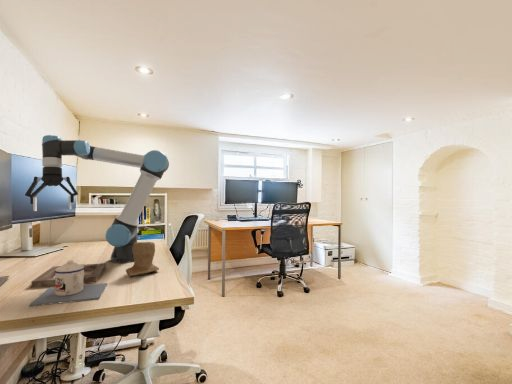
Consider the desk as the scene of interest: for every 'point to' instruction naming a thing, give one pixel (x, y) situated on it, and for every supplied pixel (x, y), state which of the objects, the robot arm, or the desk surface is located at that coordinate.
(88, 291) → the charcoal rubber mat
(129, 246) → the robot arm
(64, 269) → the teacup with lid
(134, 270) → the brown upright rounded piece
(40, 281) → the walnut holder frame
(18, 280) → the desk surface
